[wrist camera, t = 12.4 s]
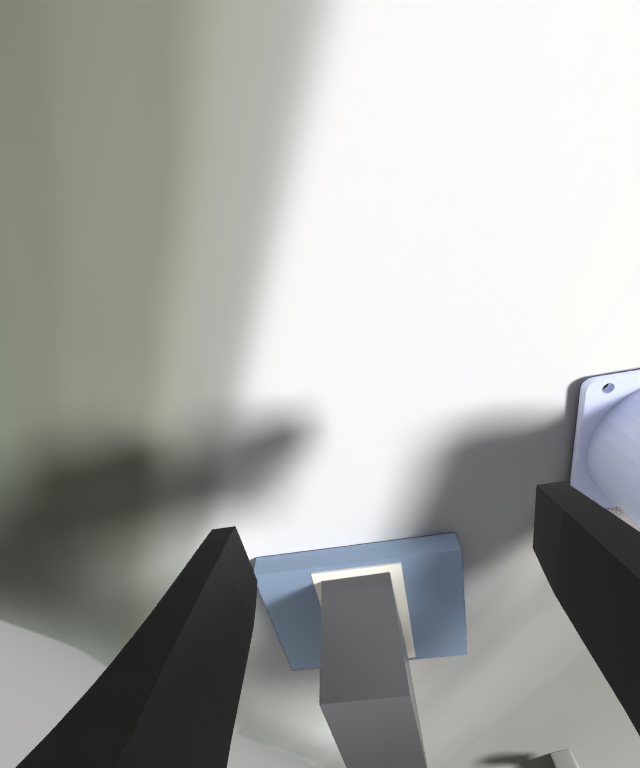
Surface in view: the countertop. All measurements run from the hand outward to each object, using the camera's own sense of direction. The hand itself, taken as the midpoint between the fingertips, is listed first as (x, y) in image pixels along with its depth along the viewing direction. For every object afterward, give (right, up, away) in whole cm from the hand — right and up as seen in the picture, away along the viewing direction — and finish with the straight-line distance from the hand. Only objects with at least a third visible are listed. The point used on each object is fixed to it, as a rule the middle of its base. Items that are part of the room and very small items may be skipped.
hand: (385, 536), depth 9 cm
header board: (+1, -10, +15) cm, 19 cm away
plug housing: (+1, -11, +14) cm, 18 cm away
